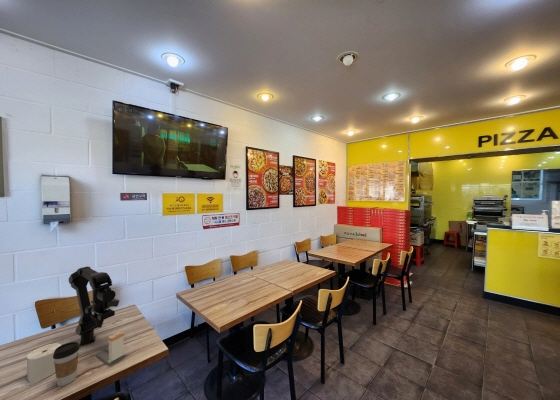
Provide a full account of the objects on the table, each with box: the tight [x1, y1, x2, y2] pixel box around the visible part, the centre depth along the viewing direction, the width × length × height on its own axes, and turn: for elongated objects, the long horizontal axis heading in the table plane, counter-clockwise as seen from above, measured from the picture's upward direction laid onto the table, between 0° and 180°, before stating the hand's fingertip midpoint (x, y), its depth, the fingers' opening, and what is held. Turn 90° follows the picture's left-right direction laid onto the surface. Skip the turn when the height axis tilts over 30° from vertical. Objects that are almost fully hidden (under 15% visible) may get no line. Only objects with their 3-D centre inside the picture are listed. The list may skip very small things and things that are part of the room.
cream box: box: [108, 330, 125, 361], centre depth 107 cm, size 3×5×11 cm, turn 151°
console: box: [95, 346, 127, 367], centre depth 109 cm, size 14×7×2 cm, turn 61°
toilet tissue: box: [26, 343, 62, 386], centre depth 100 cm, size 11×12×10 cm
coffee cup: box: [53, 341, 81, 387], centre depth 95 cm, size 8×8×15 cm
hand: (100, 327), depth 115 cm, fingers closed
